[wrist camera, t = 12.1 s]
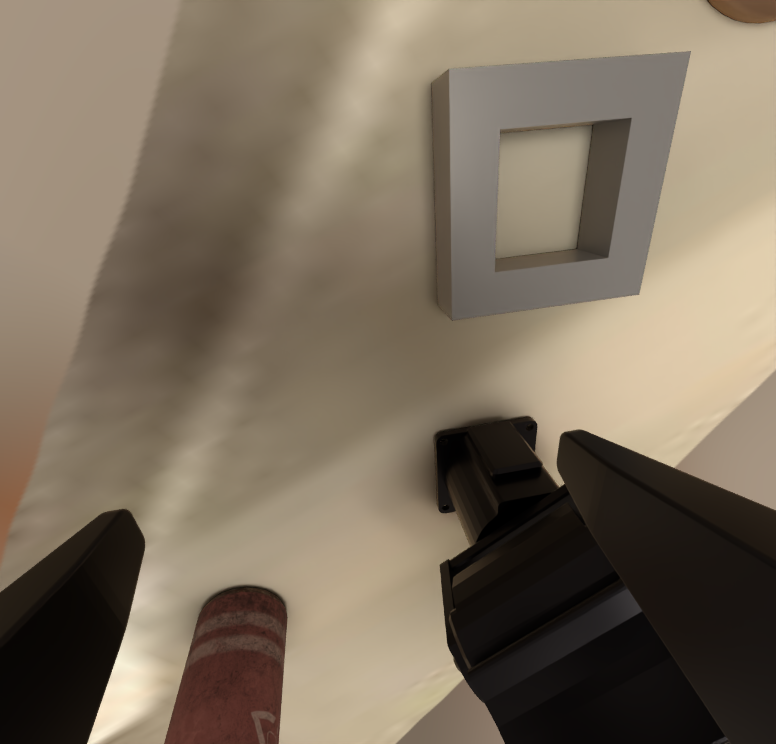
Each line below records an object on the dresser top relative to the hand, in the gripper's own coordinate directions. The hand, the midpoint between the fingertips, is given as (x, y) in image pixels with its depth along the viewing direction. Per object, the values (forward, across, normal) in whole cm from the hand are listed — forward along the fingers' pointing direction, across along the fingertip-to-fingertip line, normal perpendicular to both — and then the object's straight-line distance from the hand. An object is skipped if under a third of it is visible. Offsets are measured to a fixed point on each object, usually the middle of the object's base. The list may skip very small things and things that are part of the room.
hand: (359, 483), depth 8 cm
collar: (+13, -10, -4) cm, 17 cm away
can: (+13, +10, +22) cm, 28 cm away
